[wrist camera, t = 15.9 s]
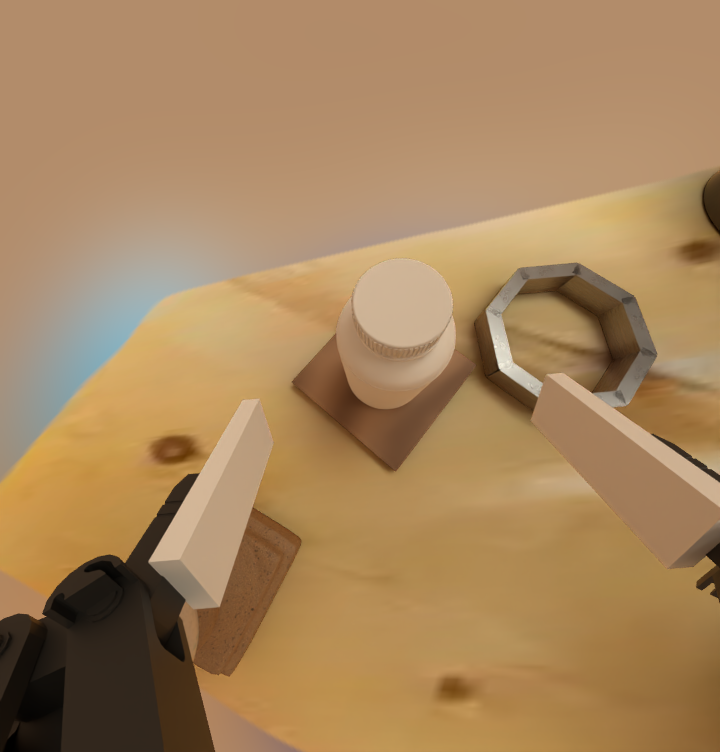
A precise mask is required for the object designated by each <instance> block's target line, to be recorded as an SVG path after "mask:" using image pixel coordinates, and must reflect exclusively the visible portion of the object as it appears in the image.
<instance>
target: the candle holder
mask: <svg viewBox="0 0 720 752" xmlns="http://www.w3.org/2000/svg"><path fill="white" fill-rule="evenodd" d="M300 545H301V539H300V538H299V537H298V536H296V535H295V534H294V533H292V532H291V531H289V530H288V529H286V528H285V527H283V526H282V525H280V524H278V523H277V522H275V521H274V520H272V519H270V518H269V517H267V516H266V515H264V514H262V513H261V512H259V511H258V510H256V509H254V508H253V507H252V510H251V513H250V516H249V519H248V522H247V525H246V529H245V532H244V535H243V538H242V541H241V544H240V547H239V550H238V553H237V556H236V559H235V562H234V565H233V568H232V571H231V574H230V577H229V580H228V583H227V586H226V589H225V592H224V595H223V598H222V601H221V604H220V607H216V608H204V609H193V608H192V607H191V606H190V605H189V604H188V603H187V602H186V601H185V603H184V606H183V608H182V610H181V613H180V615H179V616H180V617H181V619H182V621H183V625H184V629H185V633H186V637H187V641H188V645H189V649H190V653H191V657H192V661H193V663H194V664H196V665H197V666H199V667H200V668H202V669H204V670H206V671H207V672H209V673H211V674H217V675H219V674H220V673H223V674H224V675H227V676H230V675H231V674H232V672H233V671H234V670H235V668H236V667H237V665H238V663H239V662H240V660H241V658H242V656H243V655H244V653H245V651H246V650H247V648H248V646H249V644H250V643H251V641H252V639H253V637H254V635H255V633H256V631H257V629H258V628H259V626H260V624H261V622H262V620H263V618H264V616H265V614H266V612H267V610H268V608H269V606H270V605H271V603H272V601H273V599H274V597H275V595H276V593H277V591H278V589H279V587H280V585H281V583H282V581H283V580H284V578H285V576H286V574H287V572H288V570H289V568H290V566H291V564H292V562H293V560H294V558H295V556H296V554H297V552H298V550H299V548H300Z"/></svg>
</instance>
